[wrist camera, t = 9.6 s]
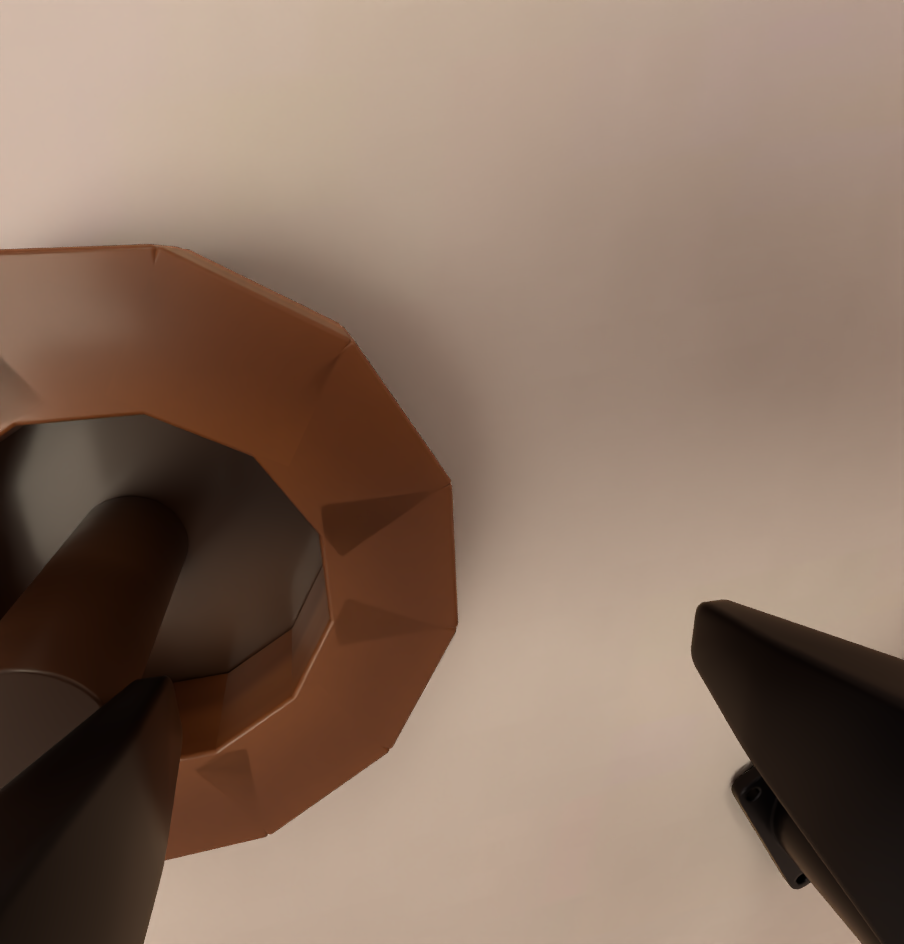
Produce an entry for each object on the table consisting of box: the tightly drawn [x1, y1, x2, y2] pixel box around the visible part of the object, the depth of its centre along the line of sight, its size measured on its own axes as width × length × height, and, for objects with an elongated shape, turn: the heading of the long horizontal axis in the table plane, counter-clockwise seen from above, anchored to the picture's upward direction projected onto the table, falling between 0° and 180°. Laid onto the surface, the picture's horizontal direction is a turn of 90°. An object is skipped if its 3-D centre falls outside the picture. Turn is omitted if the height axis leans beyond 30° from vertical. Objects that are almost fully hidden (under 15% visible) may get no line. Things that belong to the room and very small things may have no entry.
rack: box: [0, 414, 323, 789], centre depth 10 cm, size 8×8×6 cm
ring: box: [0, 244, 458, 860], centre depth 11 cm, size 11×11×2 cm
